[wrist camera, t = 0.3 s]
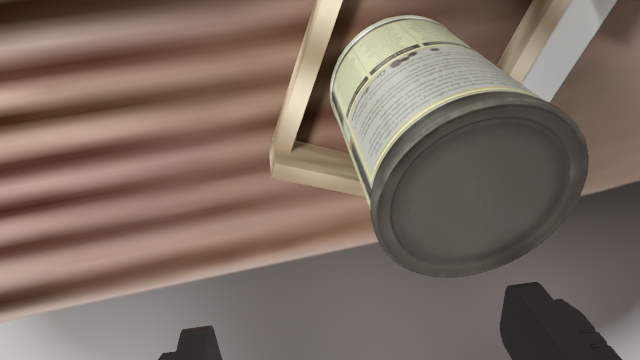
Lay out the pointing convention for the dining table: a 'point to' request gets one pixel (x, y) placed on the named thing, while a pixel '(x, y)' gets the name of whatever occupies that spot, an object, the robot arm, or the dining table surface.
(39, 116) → the dining table surface
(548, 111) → the coffee can
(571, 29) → the empty strip
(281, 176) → the frame
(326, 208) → the dining table surface
